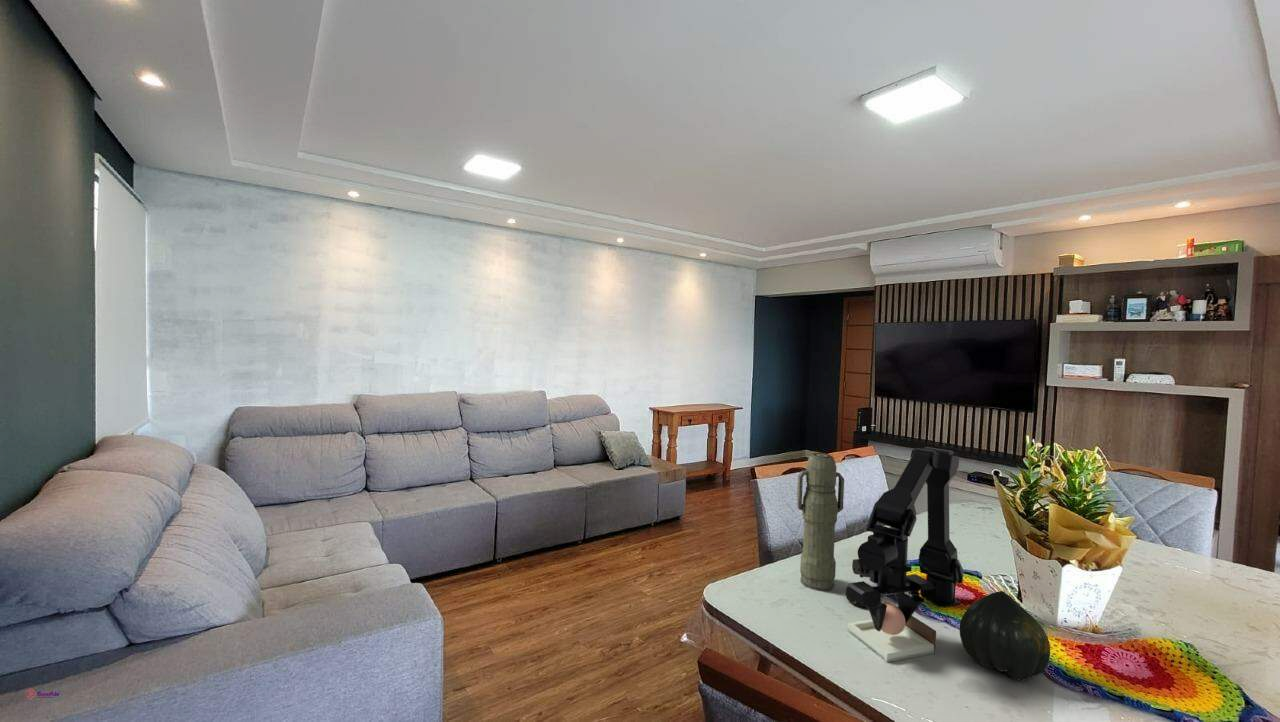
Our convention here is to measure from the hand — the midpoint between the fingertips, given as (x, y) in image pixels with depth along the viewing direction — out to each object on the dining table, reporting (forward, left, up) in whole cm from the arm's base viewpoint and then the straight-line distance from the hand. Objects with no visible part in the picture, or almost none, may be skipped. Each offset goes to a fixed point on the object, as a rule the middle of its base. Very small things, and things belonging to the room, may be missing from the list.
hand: (889, 628), depth 114 cm
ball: (0, 0, -1) cm, 1 cm away
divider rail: (-7, -2, -3) cm, 8 cm away
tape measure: (-7, -17, -3) cm, 18 cm away
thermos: (-2, -28, -3) cm, 28 cm away
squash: (-16, +13, -3) cm, 21 cm away
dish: (0, 0, -3) cm, 3 cm away
